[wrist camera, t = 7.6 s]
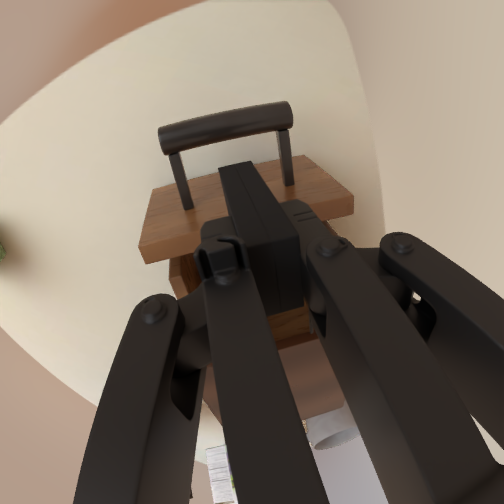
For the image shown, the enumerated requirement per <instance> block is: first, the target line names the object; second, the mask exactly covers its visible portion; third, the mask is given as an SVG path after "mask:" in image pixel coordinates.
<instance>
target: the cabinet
mask: <svg viewBox="0 0 504 504" xmlns="http://www.w3.org/2000/svg"><path fill="white" fill-rule="evenodd" d="M275 343H276V346H277V349H278V352H279V355H280V358H281V361H282V364H283V367H284V370H285V373H286V376H287V379H288V382H289V385H290V388H291V391H292V394H293V397H294V400H295V403H296V406H297V409H298V412H299V415H300V418H301V421H302V420H305V419H309V418H312V417H315V416H318V415H321V414H324V413H327V412H330V411H333V410H336V409H339V408H342V407H343V406H344V401H345V397H344V395H343V392H342V390H341V388H340V385H339V383H338V381H337V378H336V376H335V374H334V372H333V369H332V367H331V365H330V363H329V360H328V358H327V356H326V354H325V351H324V349H323V347H322V345H321V342H320V340H319V338H318V336H317V334H316V331H315V330H313V333H312V334H310V331H309V332H306V333H302V334H299V335H295V336H292V337H288V338H285V339H281V340H277V341H275ZM203 399H204V401H205V402H206V404H207V405H208V407H209V408H210V410H211V411H212V412H213V414H214V415H215V417H216V418H217V420H218V421H219V422H220V424H221V425H222V421H221V415H220V409H219V403H218V397H217V391H216V385H215V378H214V372H213V365H212V363H210V364H208V365H207V371H206V378H205V385H204V392H203ZM222 427H223V426H222Z"/></svg>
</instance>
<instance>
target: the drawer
mask: <svg viewBox="0 0 504 504" xmlns="http://www.w3.org/2000/svg"><path fill="white" fill-rule="evenodd" d="M292 126H293V114H292V110H291V107H290V105H289V103H288V102H287V101H281V102H274V103H268V104H261V105H255V106H249V107H244V108H238V109H233V110H228V111H223V112H219V113H214V114H209V115H205V116H201V117H197V118H192V119H188V120H184V121H181V122H177V123H173V124H169V125H166V126H162V127H159V128H158V137H159V142H160V146H161V149H162V152H163V154H164V155H169V160H170V163H171V167H172V171H173V174H174V178H175V181H176V183H175V184H171V185H167V186H164V187H160V188H156V189H153V190H152V194H151V198H150V201H149V205H148V209H147V212H146V216H145V220H144V224H143V228H142V232H141V237H140V241H139V245H138V248H139V250H140V252H141V255H142V257H143V259H144V262H145V264H150V263H154V262H158V261H162V260H166V259H170V261H169V281H170V284H171V286H172V288H173V291H174V293H175V295H176V297H177V300H178V299H180V298H182V297H184V296H186V295H188V294H190V293H191V292H193V291H194V290H195V289H196V288H198V287H199V285H200V284H201V283H202V280H201V278H200V275H199V272H198V269H197V266H196V263H195V260H194V257H193V255H194V251H195V249H196V248H197V247H198V246H199V244H201V237H200V229H201V227H202V226H203V224H204V222H206V221H210V220H214V219H218V218H222V217H226V216H229V215H228V210H227V206H226V202H225V197H224V193H223V188H222V184H221V179H220V175H219V172H218V173H214V174H210V175H206V176H201V177H197V178H194V179H190V180H187V177H186V174H185V170H184V166H183V162H182V158H181V155H180V152H181V151H185V150H189V149H192V148H196V147H201V146H205V145H209V144H213V143H217V142H222V141H226V140H231V139H236V138H241V137H246V136H251V135H256V134H261V133H267V132H272V131H276V135H277V142H278V150H279V157H280V159H279V160H274V161H269V162H264V163H259V164H254V166H255V168H256V169H257V171H258V172H259V174H260V175H261V177H262V178H263V180H264V181H265V183H266V184H267V186H268V187H269V189H270V190H271V192H272V193H273V195H274V196H275V198H276V199H277V201H278V202H279V203H281V202H286V201H290V200H295V199H298V200H301V201H303V202H305V203H307V204H308V205H309V206H310V208H311V209H312V210H313V212H315V214H316V215H317V217H319V219H320V220H321V221H322V222H323V224H324V225H325V226H326V227H327V229H328V230H329V231H330V232H331V234H332V235H336V236H338V235H337V233H336V232H335V231H334V230H333V229H332V227H331V226H330V225H329V224H328V223H327V221H326V220H330V219H335V218H339V217H343V216H347V215H352V214H353V213H354V196H353V194H351V193H350V192H349V191H348V190H347V189H346V188H344V187H343V186H342V185H341V184H340V183H338V182H337V181H336V180H335V179H334V178H332V177H331V176H330V175H329V174H328V173H326V172H325V171H324V170H323V169H321V168H320V167H319V166H318V165H316V164H315V163H314V162H312V161H311V160H310V159H309V158H307V157H306V156H305V155H301V156H295V157H292V155H291V146H290V138H289V131H288V129H290V128H292ZM267 319H268V322H269V325H270V328H271V331H272V334H273V337H274V340H275V341H277V340H281V339H285V338H288V337H292V336H295V335H299V334H302V333H306V332H309V331H310V330H309V307H308V303H307V301H306V299H305V297H304V307H300V308H297V309H293V310H290V311H286V312H282V313H279V314H275V315H271V316H268V317H267ZM313 330H315V329H314V327H313Z"/></svg>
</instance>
